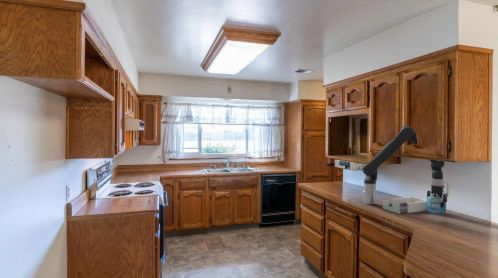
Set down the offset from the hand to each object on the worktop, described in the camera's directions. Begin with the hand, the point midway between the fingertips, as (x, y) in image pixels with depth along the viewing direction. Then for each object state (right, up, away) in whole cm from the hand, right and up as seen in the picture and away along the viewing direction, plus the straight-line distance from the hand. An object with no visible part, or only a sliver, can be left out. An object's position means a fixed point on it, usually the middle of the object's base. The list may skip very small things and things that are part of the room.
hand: (436, 205), depth 219 cm
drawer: (-24, -4, +6) cm, 25 cm away
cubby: (-14, -5, +10) cm, 18 cm away
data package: (0, -5, 0) cm, 5 cm away
